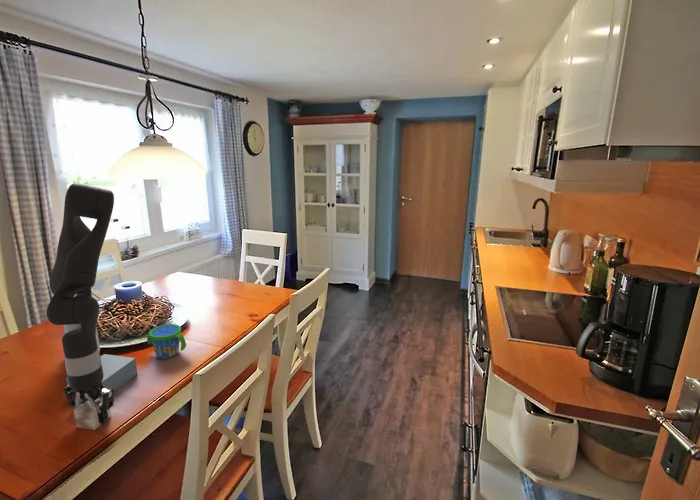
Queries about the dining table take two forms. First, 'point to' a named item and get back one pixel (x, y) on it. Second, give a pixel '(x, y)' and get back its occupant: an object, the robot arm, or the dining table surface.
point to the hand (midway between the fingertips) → (94, 419)
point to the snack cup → (166, 340)
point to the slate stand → (116, 371)
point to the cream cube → (88, 416)
